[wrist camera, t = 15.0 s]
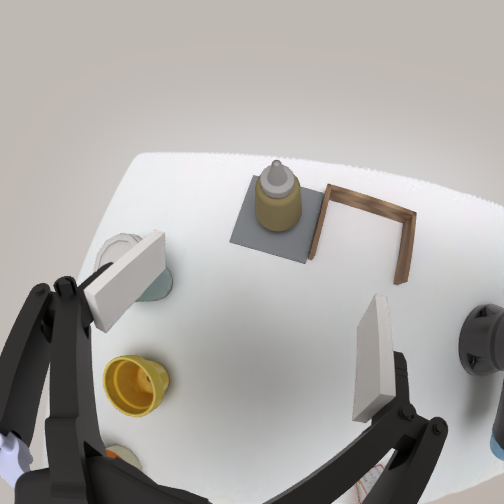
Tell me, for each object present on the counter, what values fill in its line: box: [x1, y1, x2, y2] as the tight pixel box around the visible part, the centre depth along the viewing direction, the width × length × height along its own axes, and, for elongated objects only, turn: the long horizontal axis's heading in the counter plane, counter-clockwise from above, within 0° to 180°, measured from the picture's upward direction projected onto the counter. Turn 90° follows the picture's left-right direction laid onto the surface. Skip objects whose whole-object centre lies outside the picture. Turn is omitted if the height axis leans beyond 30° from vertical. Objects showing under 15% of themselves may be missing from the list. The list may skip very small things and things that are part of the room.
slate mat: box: [230, 175, 324, 264], centre depth 50 cm, size 14×14×1 cm
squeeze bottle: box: [255, 160, 302, 232], centre depth 41 cm, size 8×8×18 cm
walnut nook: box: [308, 184, 417, 285], centre depth 46 cm, size 18×13×4 cm
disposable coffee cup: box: [93, 233, 172, 302], centre depth 43 cm, size 11×11×15 cm
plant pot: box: [103, 355, 169, 417], centre depth 41 cm, size 10×10×10 cm
